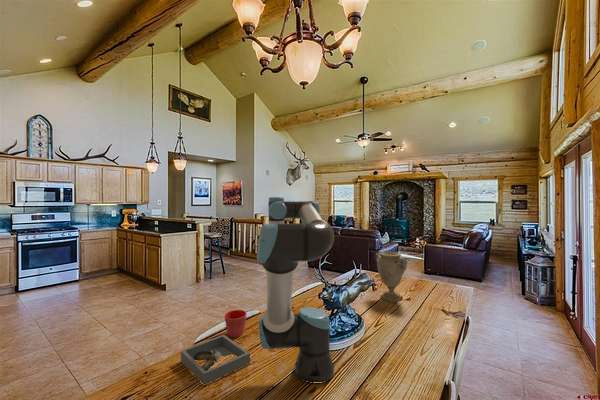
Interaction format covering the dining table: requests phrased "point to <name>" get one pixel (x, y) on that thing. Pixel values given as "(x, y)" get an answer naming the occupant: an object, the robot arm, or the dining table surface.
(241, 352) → the tray
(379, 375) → the dining table surface
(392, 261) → the urn
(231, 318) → the flower pot
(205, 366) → the eagle figurine
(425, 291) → the dining table surface
